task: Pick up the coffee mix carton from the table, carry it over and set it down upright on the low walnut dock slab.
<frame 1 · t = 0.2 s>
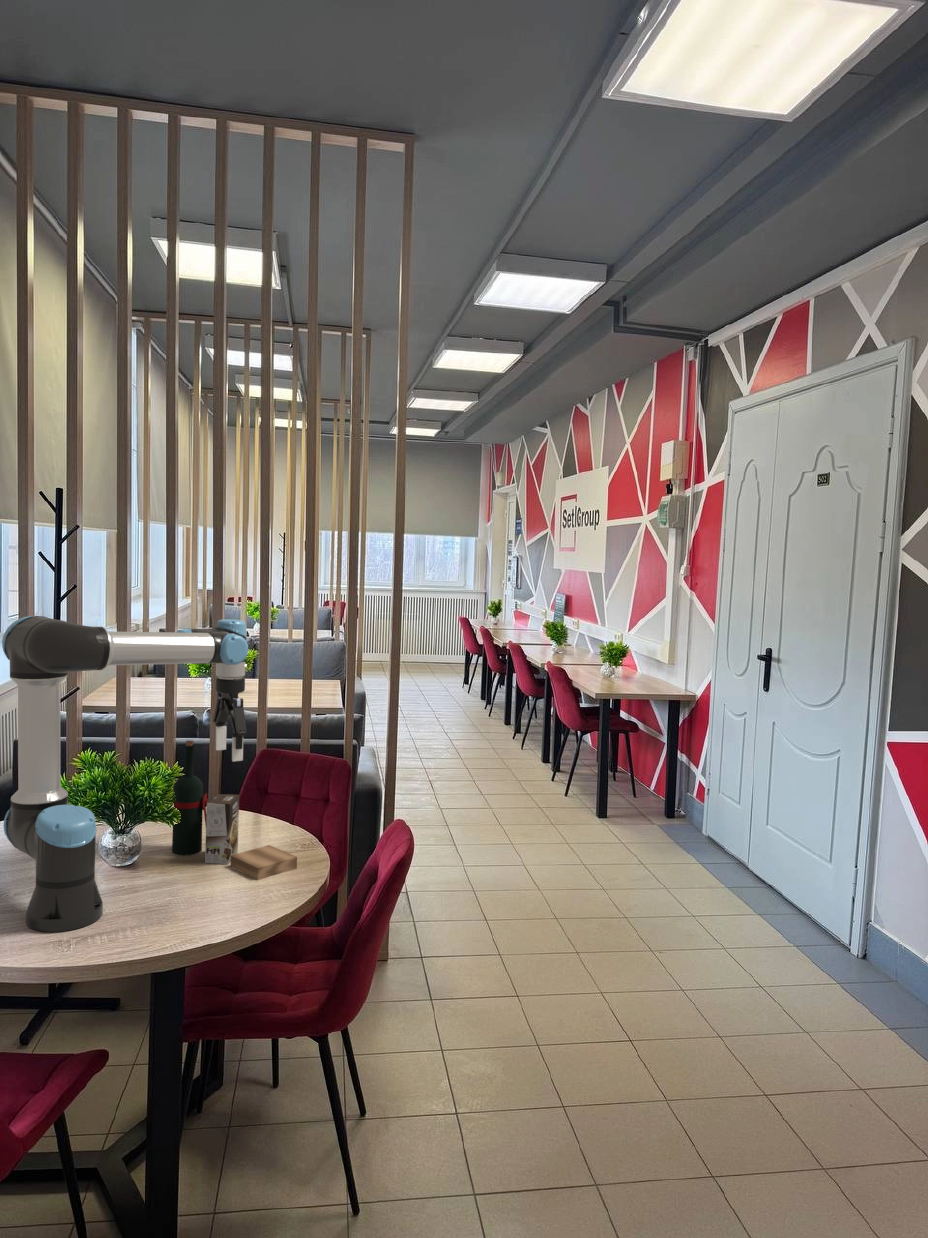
hand: (228, 755, 226), 26 cm above the table, fingers open, 13 cm apart
dock: (263, 867, 217), on the table
coffee box: (221, 858, 223), on the table
wine bottle: (191, 851, 227), on the table
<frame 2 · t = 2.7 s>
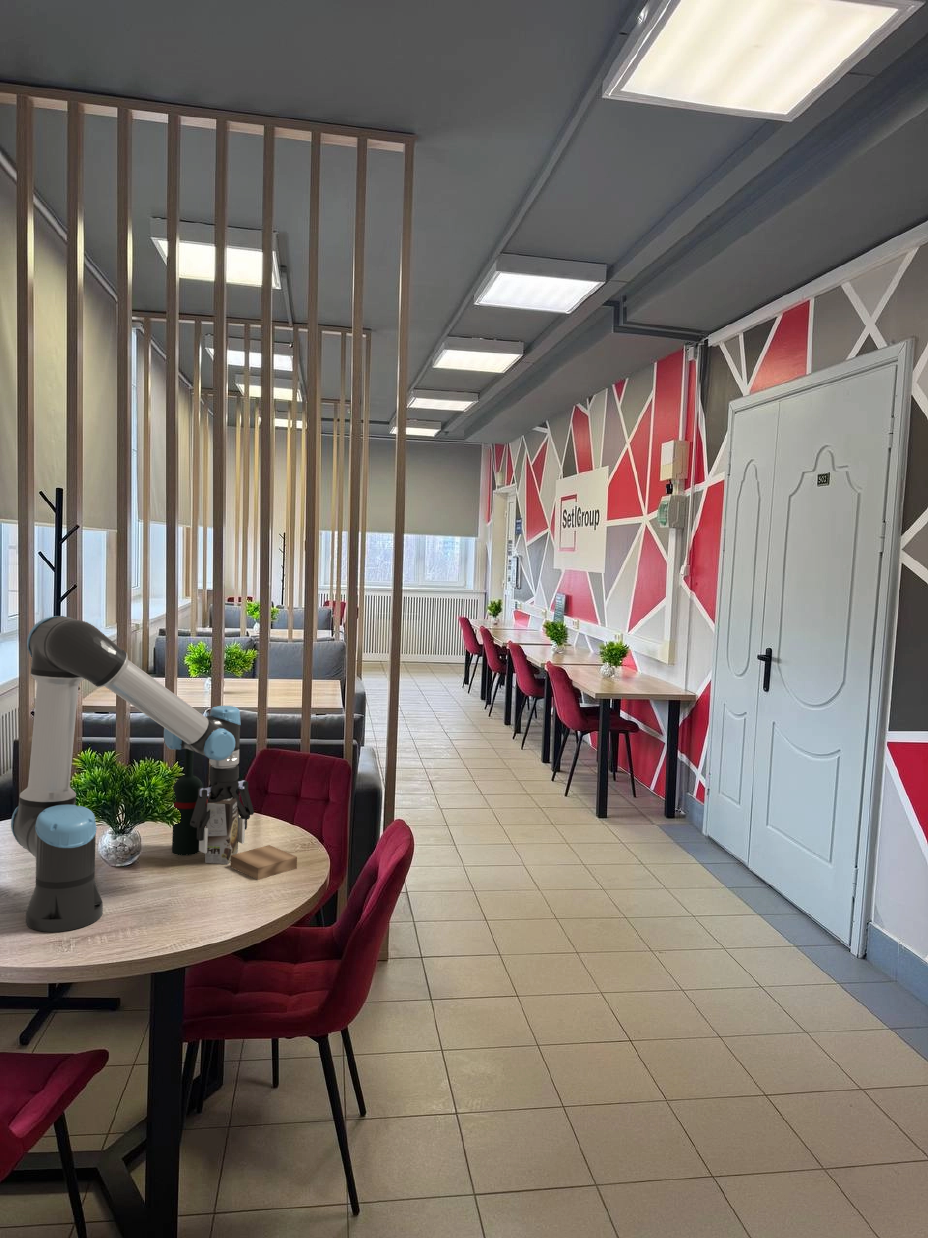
hand: (222, 847, 222), 3 cm above the table, fingers closed on coffee box, 11 cm apart
coffee box: (221, 858, 223), on the table, touching gripper
everything else where it was.
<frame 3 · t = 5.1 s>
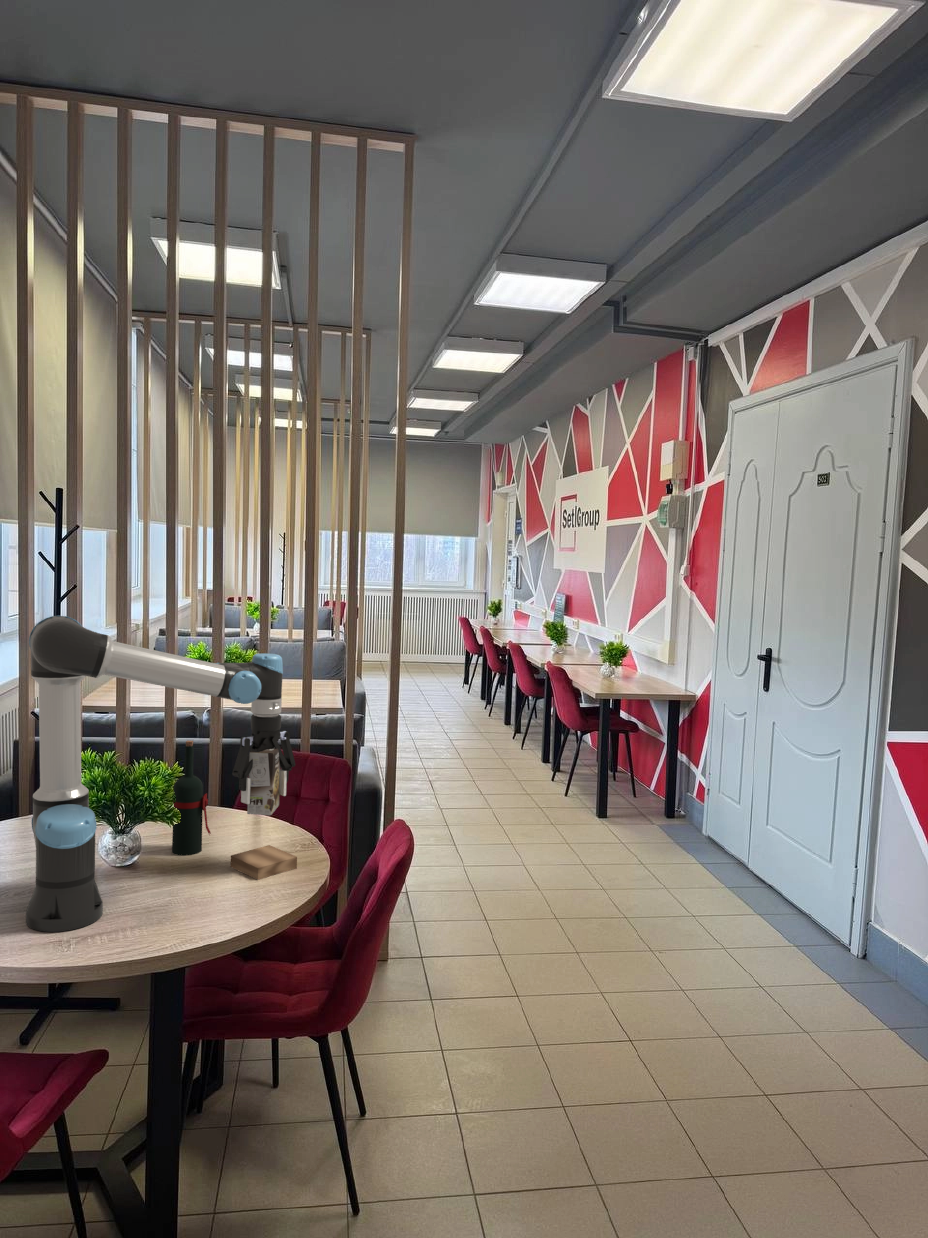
hand: (263, 798, 216), 18 cm above the table, fingers closed on coffee box, 11 cm apart
coffee box: (263, 810, 217), point 15 cm above the table, touching gripper
everything else where it was.
when the fingers open (7 cm above the table, at t = 7.7 s): coffee box drops 1 cm, resting on dock.
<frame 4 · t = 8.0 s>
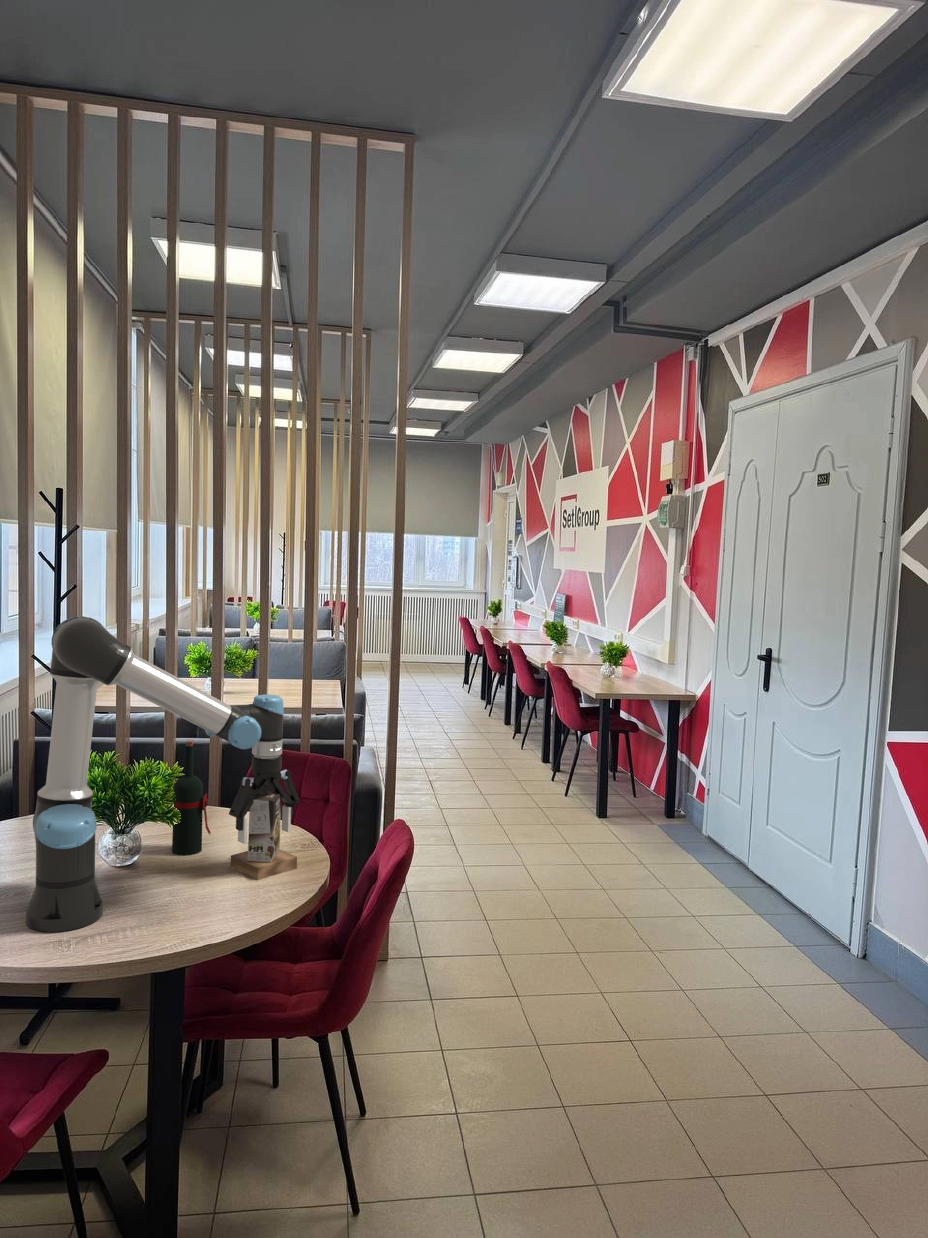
hand: (264, 836, 217), 8 cm above the table, fingers open, 13 cm apart
coffee box: (263, 856, 217), point 3 cm above the table, touching dock
everything else where it was.
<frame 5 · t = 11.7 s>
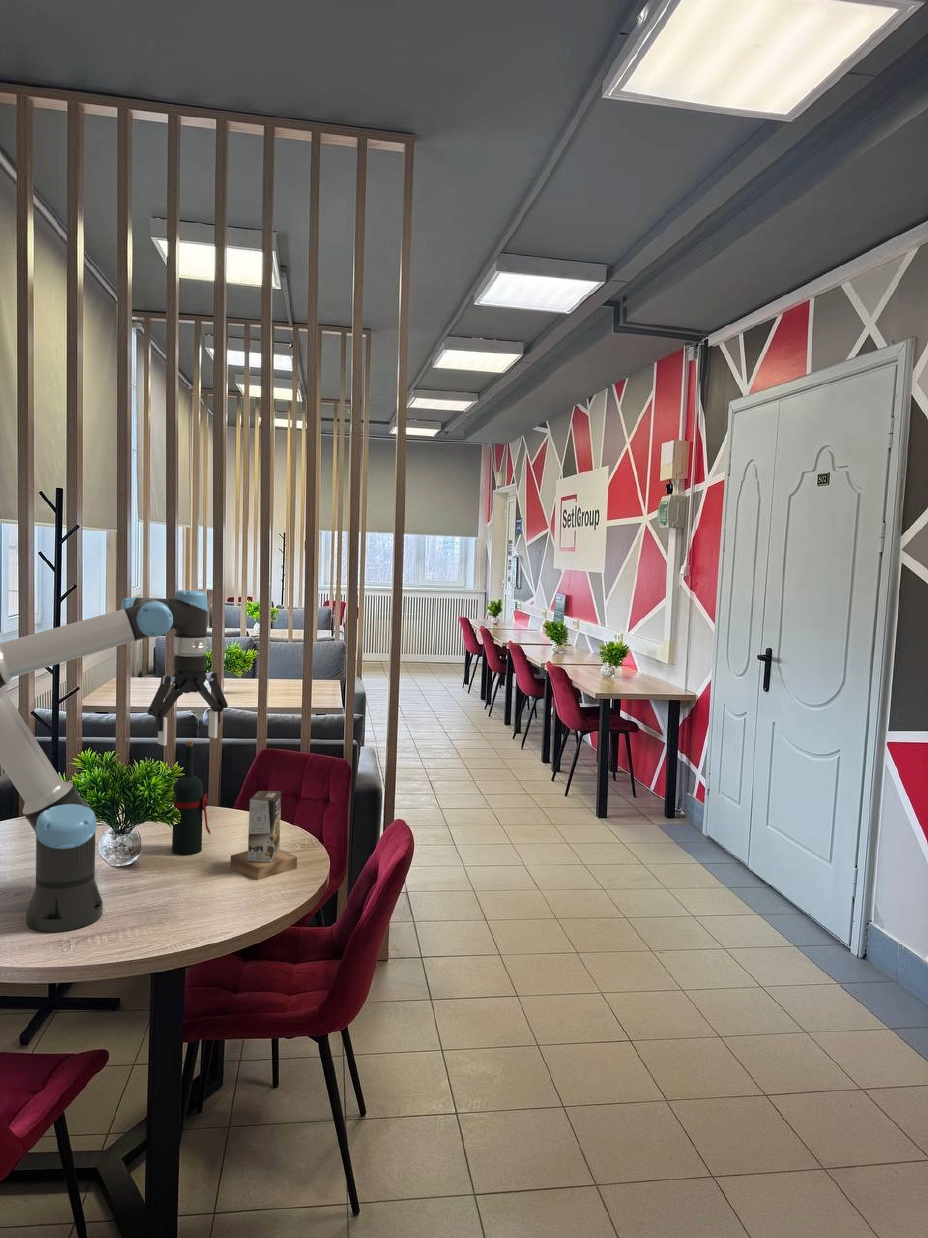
hand: (188, 740, 204), 35 cm above the table, fingers open, 13 cm apart
nothing on the table moved.
at the end: coffee box 0.0 cm from the dock (horizontally); coffee box point 2.8 cm above the table; coffee box tilted 0° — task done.
